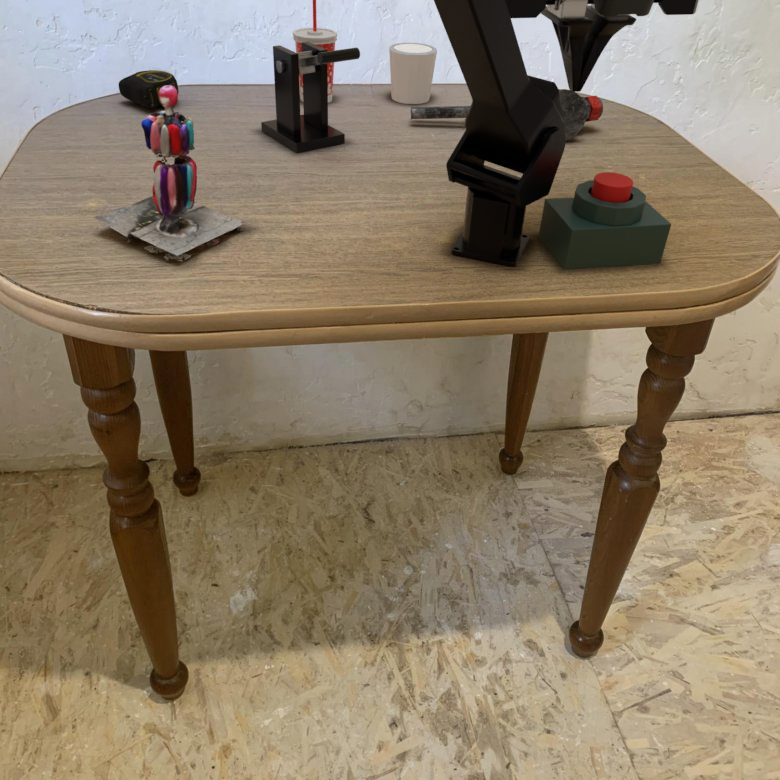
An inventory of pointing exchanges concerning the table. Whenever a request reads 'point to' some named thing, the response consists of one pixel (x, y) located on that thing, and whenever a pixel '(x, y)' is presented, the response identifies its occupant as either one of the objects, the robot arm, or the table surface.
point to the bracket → (289, 123)
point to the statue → (171, 191)
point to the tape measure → (146, 87)
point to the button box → (602, 230)
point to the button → (612, 187)
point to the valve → (571, 103)
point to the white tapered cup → (411, 72)
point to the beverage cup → (319, 38)
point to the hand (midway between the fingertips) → (574, 90)
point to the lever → (324, 58)
